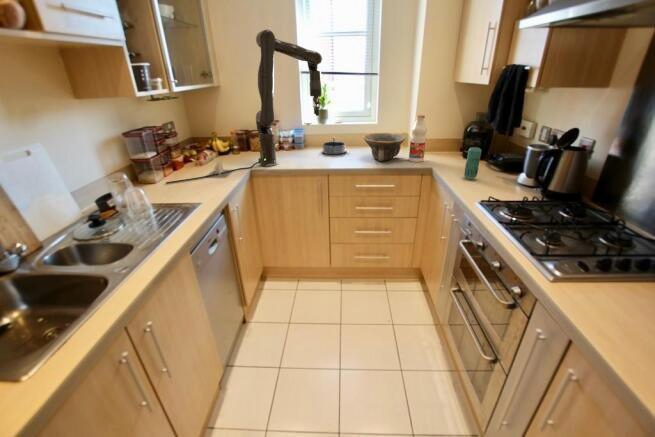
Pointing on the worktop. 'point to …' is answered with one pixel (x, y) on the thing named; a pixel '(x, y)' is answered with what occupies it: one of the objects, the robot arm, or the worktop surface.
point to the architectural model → (219, 170)
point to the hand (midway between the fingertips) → (316, 114)
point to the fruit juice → (418, 140)
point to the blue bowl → (334, 148)
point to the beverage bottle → (473, 160)
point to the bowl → (384, 145)
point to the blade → (334, 142)
